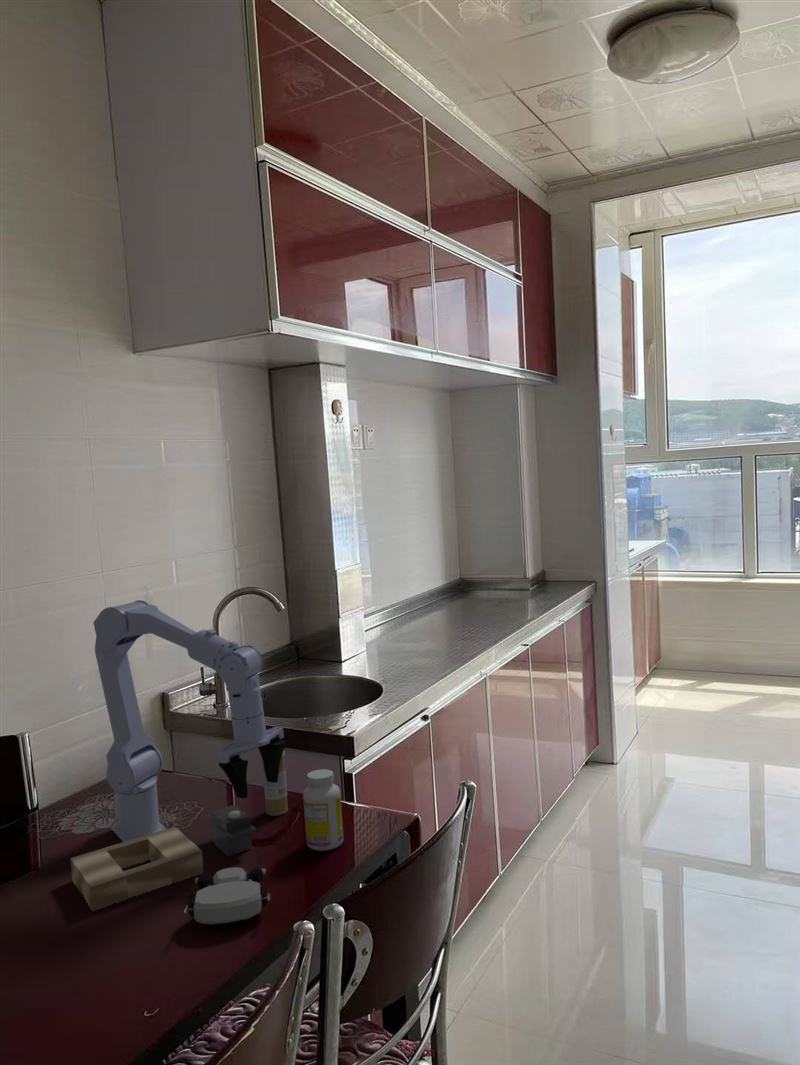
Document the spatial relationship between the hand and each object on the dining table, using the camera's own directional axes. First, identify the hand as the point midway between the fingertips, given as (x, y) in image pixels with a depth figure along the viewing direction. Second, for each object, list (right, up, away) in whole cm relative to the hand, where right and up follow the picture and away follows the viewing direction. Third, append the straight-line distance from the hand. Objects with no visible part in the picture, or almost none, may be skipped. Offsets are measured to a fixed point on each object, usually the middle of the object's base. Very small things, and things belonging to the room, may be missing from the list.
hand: (257, 789), depth 142 cm
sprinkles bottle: (+1, -10, +15) cm, 18 cm away
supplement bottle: (+12, -10, -1) cm, 16 cm away
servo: (-5, -11, +1) cm, 12 cm away
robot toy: (0, -12, -21) cm, 24 cm away
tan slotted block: (-19, -12, -9) cm, 24 cm away
